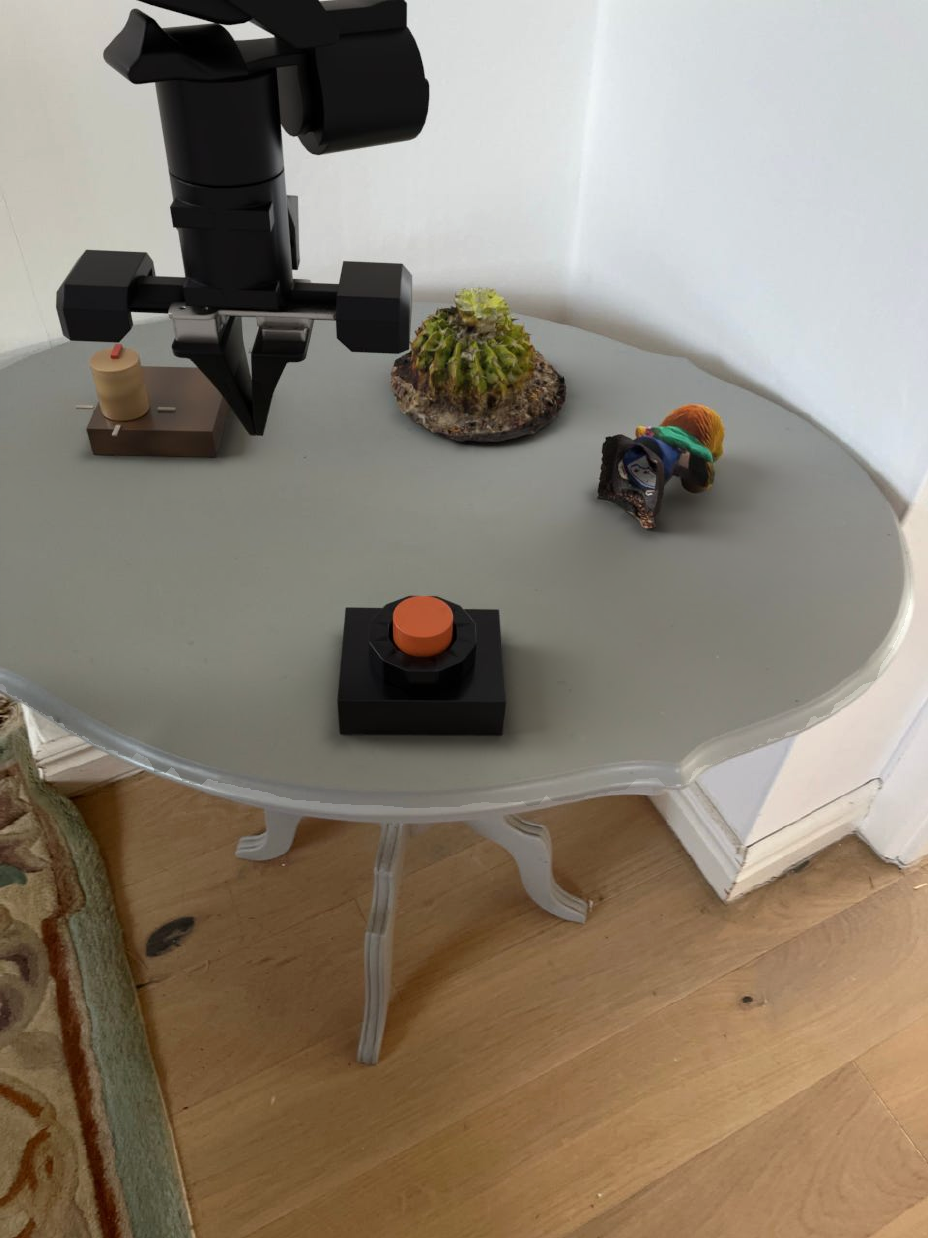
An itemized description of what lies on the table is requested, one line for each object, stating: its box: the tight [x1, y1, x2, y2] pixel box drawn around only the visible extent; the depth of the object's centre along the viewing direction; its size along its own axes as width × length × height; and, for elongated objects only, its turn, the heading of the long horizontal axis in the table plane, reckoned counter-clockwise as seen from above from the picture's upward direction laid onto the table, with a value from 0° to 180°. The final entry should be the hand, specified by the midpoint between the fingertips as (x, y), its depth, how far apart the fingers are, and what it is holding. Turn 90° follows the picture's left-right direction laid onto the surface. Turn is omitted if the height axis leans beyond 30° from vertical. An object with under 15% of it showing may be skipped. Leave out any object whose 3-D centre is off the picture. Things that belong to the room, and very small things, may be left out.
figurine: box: [596, 403, 726, 530], centre depth 76 cm, size 11×8×6 cm, turn 122°
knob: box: [88, 343, 150, 421], centre depth 77 cm, size 4×4×5 cm
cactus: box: [390, 285, 567, 443], centre depth 84 cm, size 17×16×10 cm
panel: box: [75, 365, 231, 458], centre depth 81 cm, size 12×11×3 cm
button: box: [393, 595, 453, 657], centre depth 58 cm, size 4×4×2 cm
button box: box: [336, 595, 507, 737], centre depth 60 cm, size 10×8×5 cm
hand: (257, 432), depth 59 cm, fingers closed
